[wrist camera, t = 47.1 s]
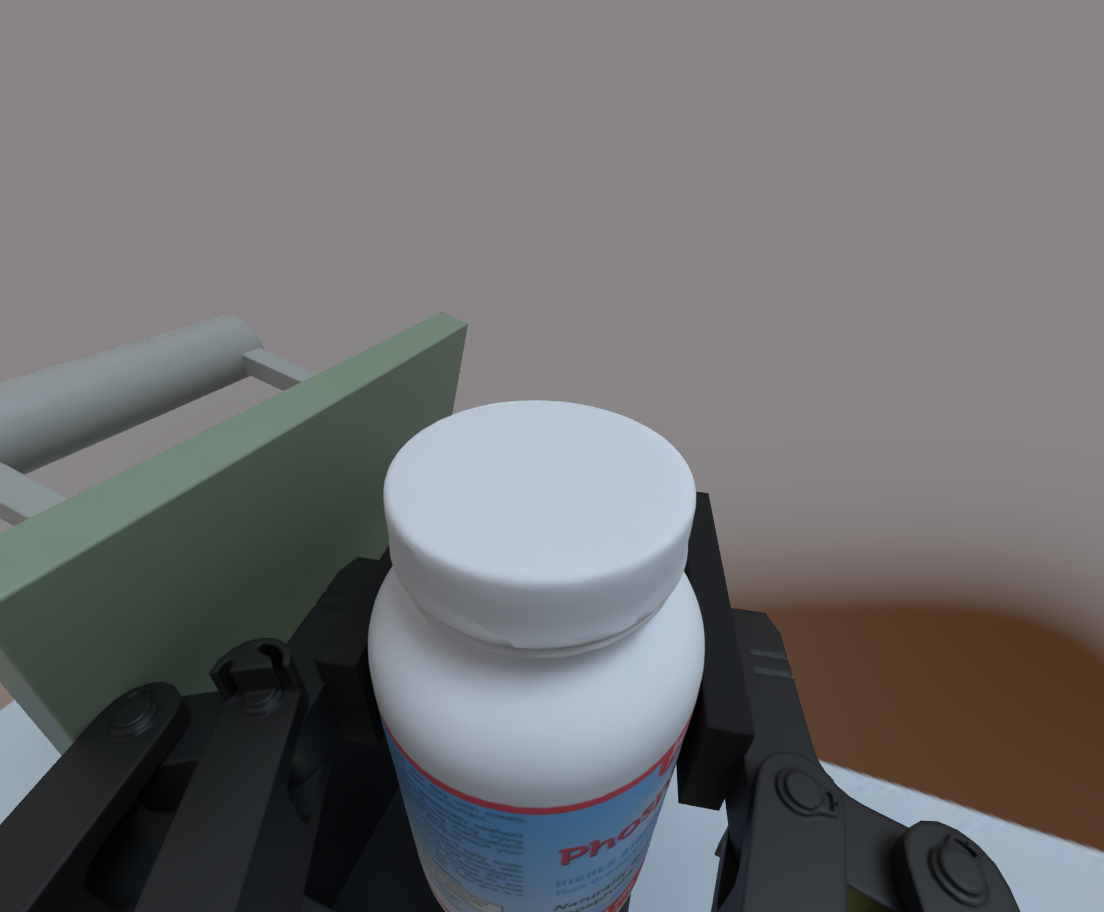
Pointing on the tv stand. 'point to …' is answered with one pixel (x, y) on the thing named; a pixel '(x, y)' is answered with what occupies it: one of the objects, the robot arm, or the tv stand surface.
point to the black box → (366, 839)
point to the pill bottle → (536, 650)
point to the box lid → (194, 507)
